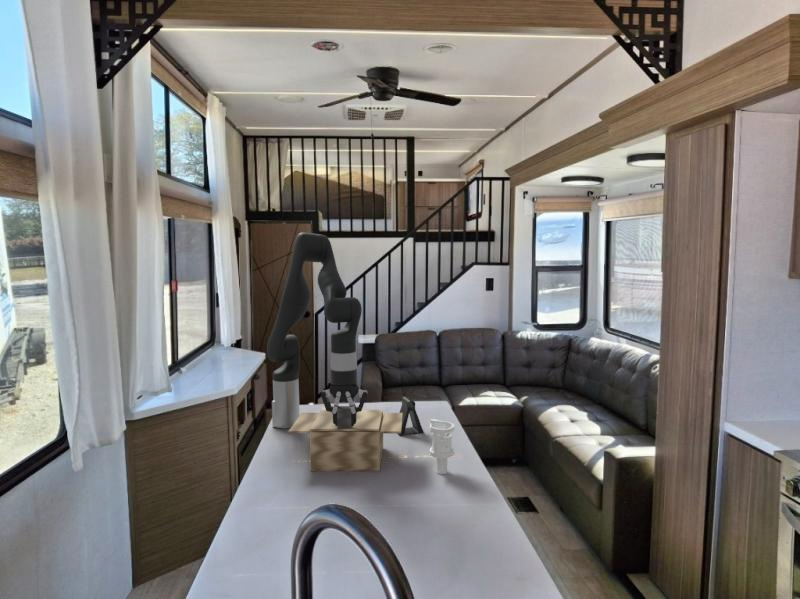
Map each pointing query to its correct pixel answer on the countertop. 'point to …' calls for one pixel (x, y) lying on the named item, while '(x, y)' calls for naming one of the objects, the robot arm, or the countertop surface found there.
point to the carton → (346, 444)
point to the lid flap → (348, 420)
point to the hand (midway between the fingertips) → (344, 424)
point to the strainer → (441, 444)
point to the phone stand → (407, 409)
